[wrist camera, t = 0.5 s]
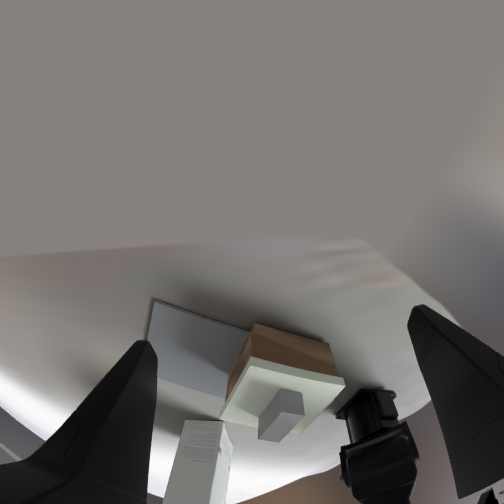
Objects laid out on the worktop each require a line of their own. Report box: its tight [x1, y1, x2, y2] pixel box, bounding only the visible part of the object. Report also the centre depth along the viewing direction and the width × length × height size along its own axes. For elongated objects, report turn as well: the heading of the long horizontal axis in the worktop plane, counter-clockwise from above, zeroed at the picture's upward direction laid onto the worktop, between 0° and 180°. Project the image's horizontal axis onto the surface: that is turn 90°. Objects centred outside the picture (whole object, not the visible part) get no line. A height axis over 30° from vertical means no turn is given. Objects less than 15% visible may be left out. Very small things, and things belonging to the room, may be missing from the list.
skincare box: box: [163, 420, 233, 504], centre depth 28 cm, size 8×6×15 cm
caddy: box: [225, 323, 338, 402], centre depth 25 cm, size 8×8×5 cm
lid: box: [219, 357, 345, 442], centre depth 22 cm, size 9×9×4 cm
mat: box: [147, 300, 250, 399], centre depth 28 cm, size 11×16×1 cm
